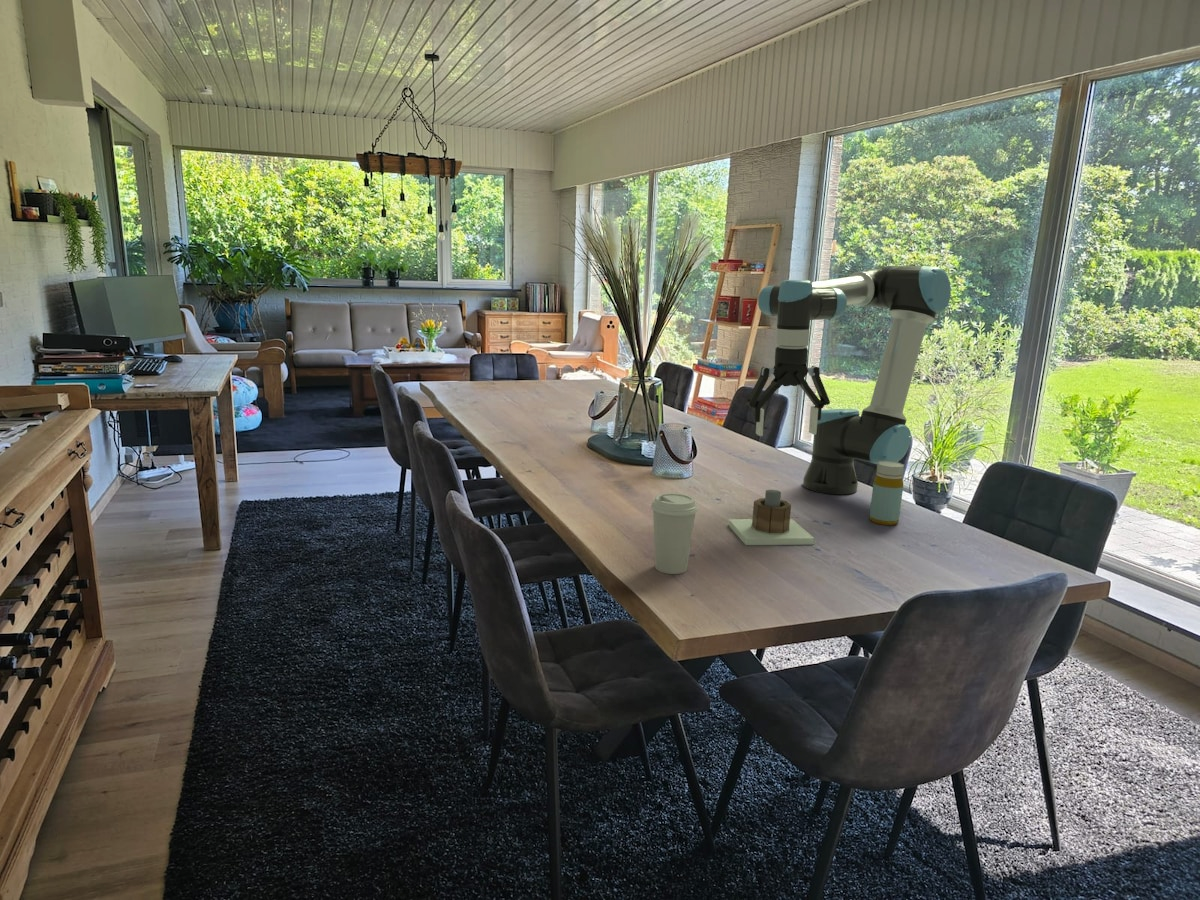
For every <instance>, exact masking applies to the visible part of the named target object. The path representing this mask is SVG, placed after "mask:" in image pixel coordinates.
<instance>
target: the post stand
mask: <svg viewBox="0 0 1200 900" xmlns="http://www.w3.org/2000/svg"><path fill="white" fill-rule="evenodd" d="M781 496H782V492H781V491H780V490H779V489H778V490H777V489H767V490H765V495H764V498H765V505H766V506H770V507H780V500H782V499H781V498H782V497H781ZM752 519H753V518H751V519H750V518H747V519H744V518H740V519H738V518H736V519H735V518H734V519H733V518H731V519H730V518H729V519H728V527H729V528H730V529H731V530H732V531H733V532H734V533H735V535H736V536H737V538H739V539H740V540H741V542H743V544H744V545H745V546H787V545H788V546H789V545H791V546H793V545H794V546H797V545H799V546H801V545H814V543H815V537H813V536H812V535H811V534H810V533H809V532H808V531H807V530H805V529H804V527H802V526H801V525H800V524H799V523H797V521H795V520H794V519H793V518H790V524H789V530H788V531H786V532H784V533H766V532H762V531H758V530H756V529H755V528H754V527H753V526H752Z"/></svg>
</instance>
